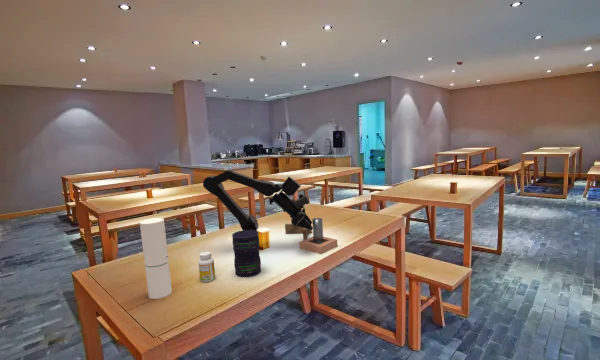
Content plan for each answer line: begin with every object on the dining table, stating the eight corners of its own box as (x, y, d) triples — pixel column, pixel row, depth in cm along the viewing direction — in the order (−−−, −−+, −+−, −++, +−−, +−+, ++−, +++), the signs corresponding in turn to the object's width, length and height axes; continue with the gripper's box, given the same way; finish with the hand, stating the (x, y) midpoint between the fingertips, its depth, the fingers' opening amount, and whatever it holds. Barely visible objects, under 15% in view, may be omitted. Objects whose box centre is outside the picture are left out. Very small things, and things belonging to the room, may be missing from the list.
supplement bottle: (209, 274, 120) (207, 249, 118) (218, 277, 116) (216, 252, 115) (197, 279, 116) (194, 254, 114) (205, 283, 112) (203, 257, 111)
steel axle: (322, 249, 140) (321, 220, 139) (313, 248, 141) (311, 220, 140) (324, 245, 145) (322, 217, 143) (314, 245, 146) (313, 217, 144)
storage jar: (266, 271, 120) (263, 233, 118) (244, 280, 113) (240, 239, 111) (252, 264, 127) (249, 228, 125) (230, 272, 121) (226, 234, 119)
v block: (304, 240, 154) (304, 230, 153) (284, 233, 166) (283, 224, 165) (319, 235, 160) (319, 225, 159) (299, 229, 172) (298, 220, 172)
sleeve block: (320, 254, 135) (320, 247, 134) (299, 248, 143) (299, 242, 142) (337, 246, 143) (337, 239, 143) (316, 241, 151) (316, 235, 151)
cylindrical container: (175, 287, 110) (167, 217, 107) (167, 298, 103) (158, 223, 100) (154, 289, 110) (145, 218, 107) (144, 299, 103) (135, 224, 100)
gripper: (297, 193, 130) (325, 218, 132) (297, 186, 149) (322, 208, 150) (279, 213, 131) (307, 237, 133) (282, 204, 150) (307, 225, 151)
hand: (312, 226), depth 142 cm, fingers open, 9 cm apart
